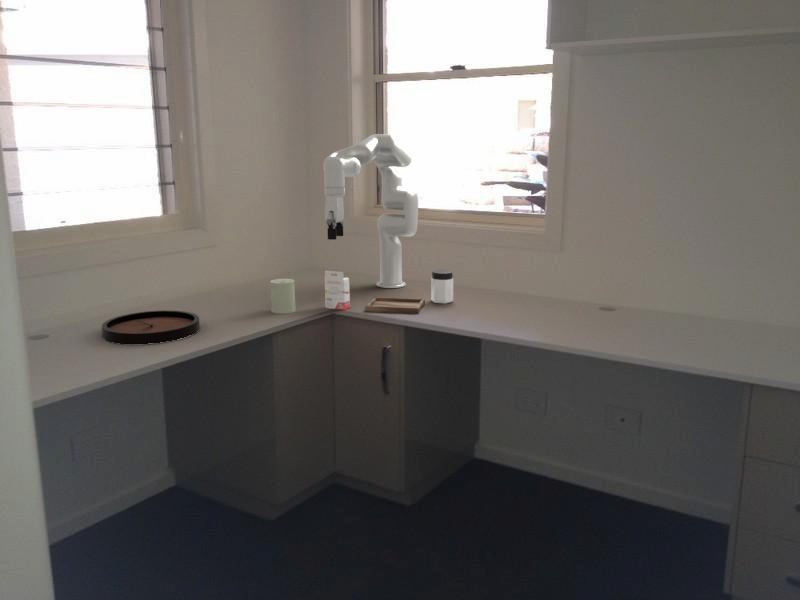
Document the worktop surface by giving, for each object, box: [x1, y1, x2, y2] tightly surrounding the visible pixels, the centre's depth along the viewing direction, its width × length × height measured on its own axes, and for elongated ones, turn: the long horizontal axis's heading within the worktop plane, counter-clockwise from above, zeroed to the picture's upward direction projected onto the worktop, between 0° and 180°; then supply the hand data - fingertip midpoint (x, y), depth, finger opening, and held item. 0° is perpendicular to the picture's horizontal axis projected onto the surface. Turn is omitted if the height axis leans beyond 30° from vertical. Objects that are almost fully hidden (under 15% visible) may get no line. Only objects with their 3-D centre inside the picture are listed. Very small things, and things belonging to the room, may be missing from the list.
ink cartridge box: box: [323, 270, 351, 311], centre depth 279 cm, size 9×5×15 cm, turn 68°
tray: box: [365, 296, 426, 315], centre depth 280 cm, size 16×20×2 cm
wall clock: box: [101, 309, 201, 345], centre depth 248 cm, size 31×4×31 cm
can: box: [269, 278, 297, 315], centre depth 275 cm, size 9×9×12 cm
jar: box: [430, 269, 454, 304], centre depth 290 cm, size 9×8×12 cm
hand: (335, 237), depth 274 cm, fingers open, 9 cm apart
